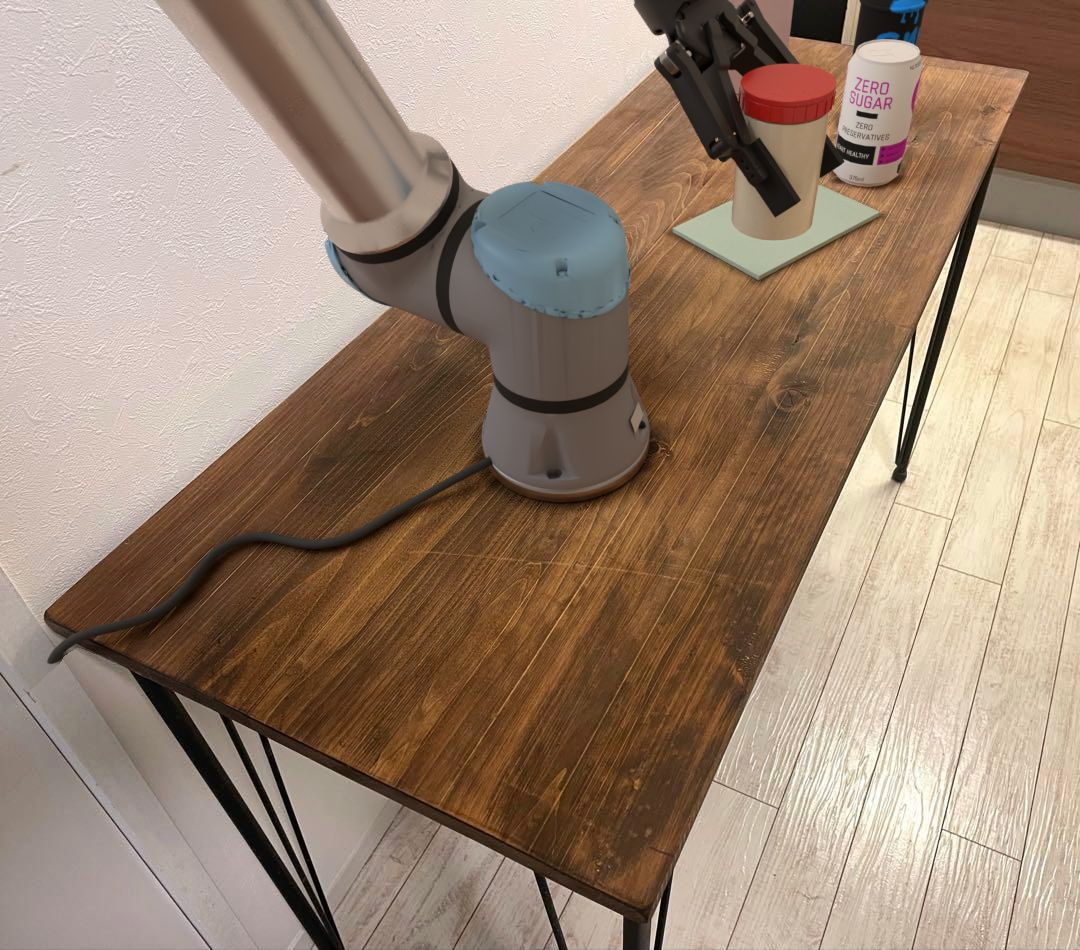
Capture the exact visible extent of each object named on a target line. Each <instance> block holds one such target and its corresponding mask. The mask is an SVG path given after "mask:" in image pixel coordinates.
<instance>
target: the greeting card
mask: <svg viewBox="0 0 1080 950" xmlns="http://www.w3.org/2000/svg"><path fill="white" fill-rule="evenodd" d="M729 1H730V2H731V3H732V4H733V5H734V6H735V5H740V4H741V3H742V2H743V1H745V0H729ZM755 1H756V3H757V5H758V7H759V9H760V11H761V13H762V15H763V17H764V19H765V20H766V21H767V23H768V24H769V25H770V26H771V28H772V29H773V30H774V32H775V33H776V34H777V35H778V37H779V38H780V39H781V40H782V42H783V43H784V44H785V46H786V47H787V48H788V49H789V46H790V38H791V30H792V29H791V28H792V19H793V11H794V3H795V0H755ZM743 45H744V44H742V45H741V47H742V46H743ZM728 72H729V76H730V78H731V81H732V84H733V87H734V90H735V93H736V95H739V87H740V83H741V79H742V77H743V76H742V75H740V74H739V73H738V72H737V71H736V70H728Z"/></svg>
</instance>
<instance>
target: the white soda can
mask: <svg viewBox="0 0 1080 950" xmlns="http://www.w3.org/2000/svg"><path fill="white" fill-rule="evenodd" d="M848 61H849V62H848V63H847V69H846V74H845V75H846V76H845V81H844V89H843V93H842V99H841V100H842V101H841V107H840V113H839V119H838V126H837V130H836V131H837V132H836V137H835V143H834V146H835V148H836V149H837V151H838V152H839V154H840V155H841V157H842V158H843V160H844V161H845V162H844V163H843V164H842V165H840V166H839V167H837V168H836V169H834V170H833V171H832V172H833V173H834V174H836V177H837V178H838V179H840V180H841V181H842V182H844V183H846V184H848V185H852V186H857V187H864V188H865V187H866V188H871V187H879V186H883V185H885V184H888V183H890V182H891V181H892V180H894V179H895V178H896V177H898V176H899V175H900V172H901V170H902V165H903V161H904V157H905V152H906V147H907V142H908V137H909V134H910V129H911V125H912V124H911V123H912V120H913V115H914V111H915V105H916V101H917V97H918V92H919V87H920V83H921V77H922V73H923V68H924V64H923V61H922V57H921V49H920V48H919V47H918V45H917V46H915V45H914V44H911V43H908V42H905V41H900V40H891V39H881V40H872V41H869V42H865V43H863V44H861V45H859V46H858V48H857V49H856V52H855V54H854V55H853V57H852V56H851V58H850V59H849V60H848Z"/></svg>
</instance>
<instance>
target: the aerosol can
mask: <svg viewBox="0 0 1080 950" xmlns="http://www.w3.org/2000/svg"><path fill="white" fill-rule="evenodd" d="M859 3H860V5H859V12H858V19H857V23H856V31H855V36H854V41H853V49H852V55H851V58H852V57H853V55H854V54H855V52H856V49H857V48H858V46H859V45H861V44H863V43H865V42H869V41H872V40H881V39H891V40H900V41H905V42H908V43H911V44H914V45H915V46H917V47H918V42H919V37H920V32H921V28H922V22H923V17H924V14H925V8H926V6H927V4H928V3H929V0H859Z"/></svg>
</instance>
